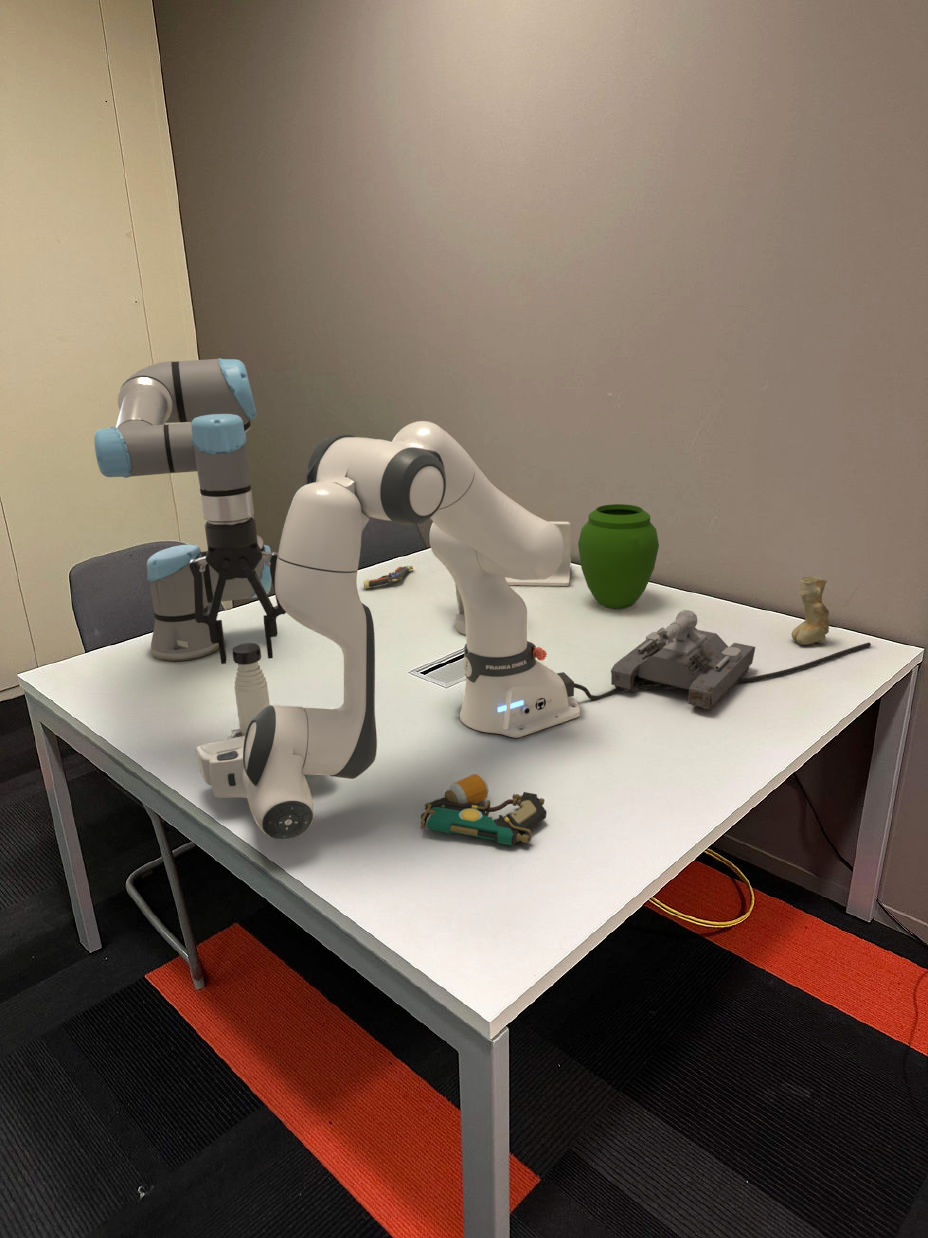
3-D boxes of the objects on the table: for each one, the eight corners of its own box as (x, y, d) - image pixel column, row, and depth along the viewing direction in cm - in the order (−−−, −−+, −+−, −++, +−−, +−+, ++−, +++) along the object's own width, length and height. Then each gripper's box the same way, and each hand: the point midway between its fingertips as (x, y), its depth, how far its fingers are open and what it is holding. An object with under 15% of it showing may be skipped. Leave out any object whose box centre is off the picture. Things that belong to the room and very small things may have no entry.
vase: (599, 587, 227) (601, 497, 218) (668, 600, 216) (673, 505, 208) (562, 608, 212) (564, 513, 204) (634, 623, 202) (639, 523, 193)
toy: (661, 649, 187) (665, 584, 181) (753, 669, 176) (760, 600, 170) (609, 692, 167) (612, 620, 162) (708, 717, 156) (715, 641, 151)
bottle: (264, 775, 142) (250, 660, 135) (239, 769, 144) (223, 655, 136) (282, 760, 146) (269, 648, 139) (257, 755, 148) (243, 644, 141)
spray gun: (557, 816, 129) (509, 874, 118) (464, 782, 137) (410, 832, 126) (559, 793, 127) (509, 849, 116) (464, 759, 135) (409, 808, 124)
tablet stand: (569, 585, 229) (570, 524, 223) (476, 584, 232) (475, 523, 226) (570, 566, 246) (571, 508, 240) (484, 564, 249) (483, 507, 243)
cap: (228, 663, 137) (226, 651, 136) (243, 652, 141) (242, 641, 140) (251, 666, 136) (250, 654, 135) (266, 655, 139) (265, 644, 139)
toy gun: (360, 581, 230) (396, 578, 228) (380, 565, 248) (413, 562, 246) (362, 591, 231) (397, 588, 228) (381, 574, 248) (414, 571, 246)
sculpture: (787, 638, 190) (794, 574, 185) (818, 636, 191) (826, 572, 186) (799, 648, 185) (807, 582, 180) (831, 646, 186) (840, 580, 180)
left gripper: (293, 508, 135) (307, 642, 144) (164, 518, 131) (186, 656, 140) (295, 519, 129) (309, 659, 137) (159, 530, 125) (182, 674, 133)
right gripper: (333, 736, 134) (315, 701, 146) (199, 763, 127) (191, 724, 139) (337, 771, 136) (318, 733, 148) (204, 800, 129) (196, 758, 141)
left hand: (247, 657), depth 138 cm, fingers open, 7 cm apart
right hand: (255, 729), depth 144 cm, fingers closed on bottle, 5 cm apart
